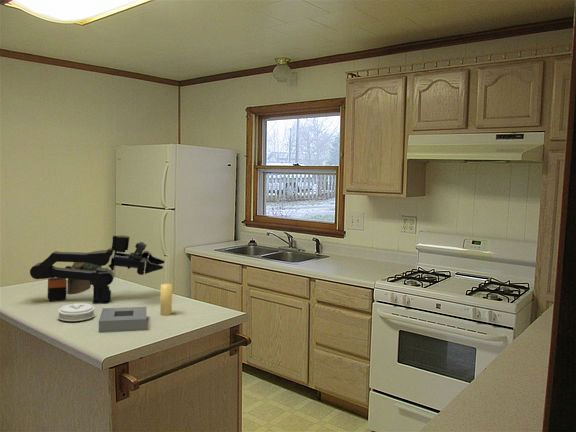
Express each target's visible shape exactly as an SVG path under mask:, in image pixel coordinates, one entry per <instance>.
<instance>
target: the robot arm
mask: <svg viewBox="0 0 576 432" xmlns="http://www.w3.org/2000/svg"><path fill="white" fill-rule="evenodd" d="M129 245H130V236H128V235H122V234H121V235H112V244H111V247H109V248H108V249H105V250H104V249H102V250H95V251H94V250H93V251H91V252H78V251H77V252H73V251H72V252H71V251H52V253H50V254H49V256H48V257H46V258H45V259H44V260H43V261H42V262H37V263H36V264H34V265H33V266H32V267H31V268H30V270H29V275H30V277H31V278H32V279H33V280H46V279H47V280H48V279H49V278H53V277H55V278H66V279H67V280H68V279H77V280H87V281H92V282H94V283H92V284H93V285H92V288H93V293H92V294H93V295H92V296H93V297H92V299H93V301H92V304H109V303H110V301H111V299H112V290H111V289H110V287H111V286H110V285H111V284H112V283H113V281H114V279H115V273H114V272H113V271H114V270H115V269H116V268H115V267H121V268H126V269H128V270H130V269H136V273H137V274H138V275H139V276H144V275H147V274H149V273H153V272H155V271H159V270H163V269H164V265H163V264H165V260H164V259H160V258H158V257H155V256H153V254H152V252H150V251H149V250H145V249H146V247H147V244H145V243H144V241H142V242H141V241H139V242H136V244H135V246H134V247H135V248H136V249H135V250H134V252H130V253H126V251H128V250H129ZM112 255H113V256H112ZM111 256H112V257H111ZM58 262H59V263H60V262H61V263H62V262H63V263H74V262H86V263H91V264H94V265H99V266H101V267H102V266H107V264H108V263H109V262H110V264H108V267H109V268H108V267H102V268H101V267H98V268H97V269H96V270H95V271H88V270H78V269H69V268H65V267H57V266H55V263H58Z"/></svg>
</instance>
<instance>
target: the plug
mask: <svg viewBox="0 0 576 432" xmlns="http://www.w3.org/2000/svg"><path fill="white" fill-rule="evenodd" d="M172 304H173V284H172V283H168V282H166V283H161V284H160V303H159V305H160V308H159V309H160V311H159V314H160V316H163V317H167V316H168V317H169V316H171V315H172V311H173V308H172V307H173V305H172Z"/></svg>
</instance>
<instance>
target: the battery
mask: <svg viewBox="0 0 576 432" xmlns="http://www.w3.org/2000/svg"><path fill="white" fill-rule="evenodd" d="M67 280H68V279H66V278H56V277H53V278H47V301H49V302H57V301H66V300H67V289H68V286H67Z"/></svg>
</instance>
